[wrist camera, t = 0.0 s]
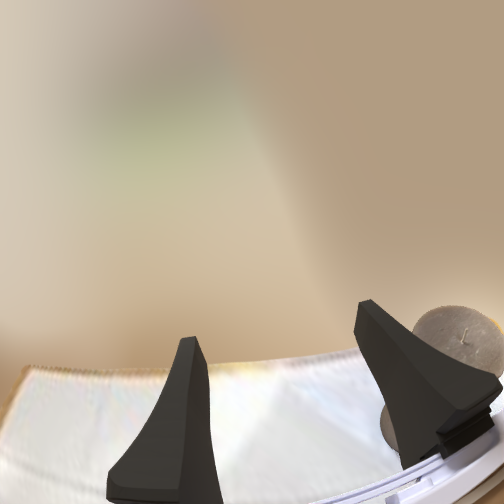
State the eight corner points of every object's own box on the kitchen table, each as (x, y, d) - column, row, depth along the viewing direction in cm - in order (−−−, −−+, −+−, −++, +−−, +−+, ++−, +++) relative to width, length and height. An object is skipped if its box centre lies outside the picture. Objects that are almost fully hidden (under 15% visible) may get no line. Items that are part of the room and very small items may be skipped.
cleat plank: (548, 469, 10) (562, 459, 9) (430, 562, 9) (442, 561, 8) (518, 417, 19) (529, 404, 18) (403, 492, 18) (412, 485, 17)
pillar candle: (375, 393, 30) (400, 298, 23) (445, 382, 28) (487, 288, 21) (383, 464, 22) (431, 392, 14) (462, 446, 20) (532, 363, 13)
